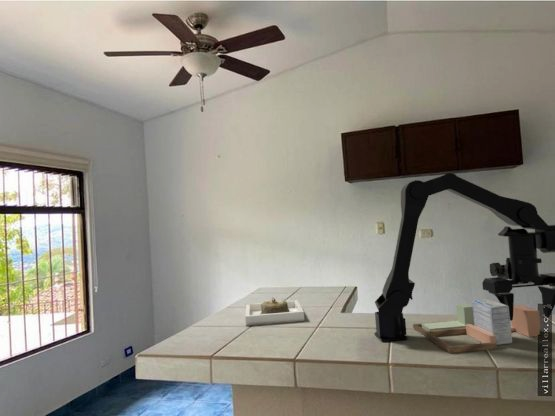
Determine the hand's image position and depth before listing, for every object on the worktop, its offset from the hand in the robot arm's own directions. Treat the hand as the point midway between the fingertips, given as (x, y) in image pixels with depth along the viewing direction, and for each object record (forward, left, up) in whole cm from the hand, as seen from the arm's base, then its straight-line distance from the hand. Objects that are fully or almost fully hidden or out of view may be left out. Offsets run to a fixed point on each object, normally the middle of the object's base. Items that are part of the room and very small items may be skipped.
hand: (528, 318), depth 96 cm
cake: (-60, +40, -3) cm, 72 cm away
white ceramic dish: (-60, +39, -4) cm, 71 cm away
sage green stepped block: (-16, +8, -4) cm, 18 cm away
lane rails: (-18, +2, -4) cm, 19 cm away
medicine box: (-10, -2, -4) cm, 11 cm away
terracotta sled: (-6, -1, -4) cm, 7 cm away
